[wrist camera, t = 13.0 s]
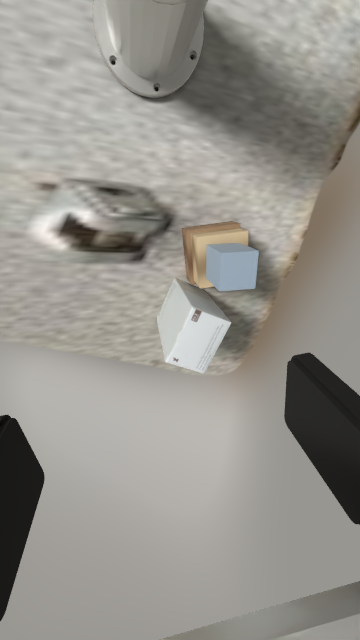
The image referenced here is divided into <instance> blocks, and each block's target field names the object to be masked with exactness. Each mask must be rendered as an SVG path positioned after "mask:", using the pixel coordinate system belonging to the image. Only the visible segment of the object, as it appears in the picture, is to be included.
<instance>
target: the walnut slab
mask: <svg viewBox="0 0 360 640" xmlns="http://www.w3.org/2000/svg"><path fill="white" fill-rule="evenodd" d="M231 228H240V223H236V222H233V221H230V222H223V223H215V224H208V225H201V226H194V227H186V228H182V236H183V246H184V256H185V265H186V275H187V279H188V281H189V282H190V284H191V285H193V284H196V283H195V281H194V274H193V260H192V247H191V233H197V232H206V231H214V230H222V229H231Z"/></svg>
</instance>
